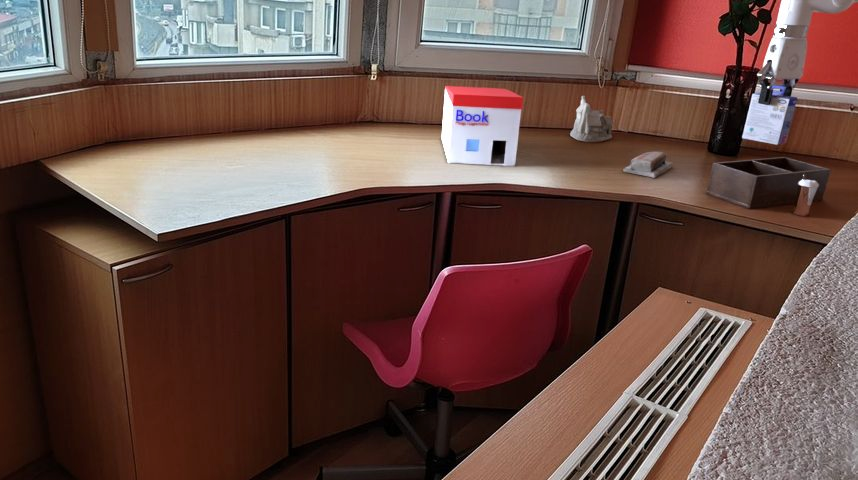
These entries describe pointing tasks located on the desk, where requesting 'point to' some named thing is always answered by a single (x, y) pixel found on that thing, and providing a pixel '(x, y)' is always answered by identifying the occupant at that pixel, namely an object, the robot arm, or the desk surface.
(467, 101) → the bookstore
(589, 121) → the ceramic cottage
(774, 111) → the ink cartridge box
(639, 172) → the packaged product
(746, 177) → the divided storage box
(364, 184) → the desk surface
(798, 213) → the milkshake
